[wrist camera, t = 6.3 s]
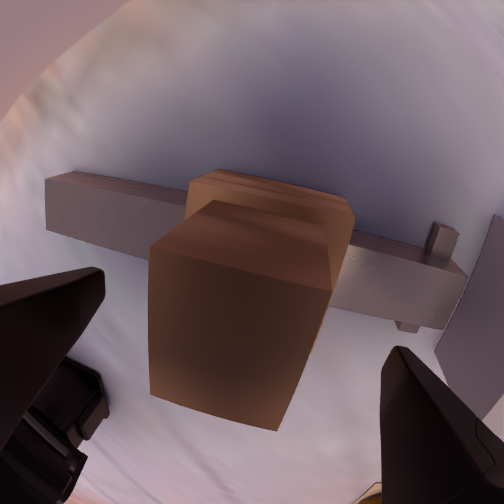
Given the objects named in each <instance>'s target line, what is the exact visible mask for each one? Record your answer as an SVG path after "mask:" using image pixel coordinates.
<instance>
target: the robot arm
mask: <svg viewBox="0 0 504 504" xmlns="http://www.w3.org/2000/svg"><path fill="white" fill-rule="evenodd" d="M105 293H106V291H105V274H104V271H103V270H101V269H99V268H96V267H87V268H82V269H77V270H72V271H67V272H62V273H57V274H52V275H48V276H43V277H38V278H33V279H28V280H23V281H19V282H14V283H9V284H4V285H0V504H63V503H64V502H65V501H66V500H67V499H68V498H69V496H70V495H71V493H72V491H73V489H74V487H75V485H76V482H77V480H78V478H79V476H80V473H81V471H82V469H83V467H84V465H85V462H86V460H87V458H88V456H87V455H86V454H84V453H82V452H80V451H79V450H78V449H77V448H78V447H79V445H80V444H81V442H82V441H83V439H84V440H86V441H87V440H89V439H90V438H91V436H92V435H93V433H94V432H95V430H96V429H97V427H98V426H99V424H100V423H101V422H102V420H103V419H104V418H105V419H107V418H108V416H109V412H108V408H107V404H106V400H105V395H104V391H103V386H102V381H101V377H100V376H99V374H97V373H96V372H94V371H92V370H90V369H88V368H86V367H84V366H82V365H80V364H78V363H76V362H74V361H72V360H70V359H68V358H66V357H65V356H66V354H67V353H68V352H69V350H70V349H71V348H72V346H73V345H74V344H75V343H76V341H77V340H78V339H79V337H80V336H81V335H82V333H83V332H84V330H85V329H86V327H87V325H88V324H89V322H90V321H91V319H92V317H93V316H94V314H95V313H96V311H97V309H98V308H99V306H100V305H101V303H102V302H103V300H104V298H105ZM380 434H381V468H382V491H381V504H504V442H503V441H502V440H501V439H500V438H499V437H497V436H496V435H495V434H494V433H493V432H492V431H491V430H490V429H489V428H488V427H487V426H486V425H485V424H484V423H483V422H482V421H481V420H480V419H479V417H476V415H475V413H474V412H473V411H472V410H471V409H470V408H469V407H468V406H467V405H466V404H465V403H464V402H463V401H462V400H461V399H460V398H459V397H458V396H457V395H456V394H455V393H454V392H453V391H452V390H451V389H450V388H449V387H448V386H447V385H446V384H445V383H444V382H443V381H442V380H441V379H440V378H439V377H438V376H437V375H435V374H434V373H433V372H432V371H431V370H430V369H429V368H428V367H427V366H426V365H425V364H424V363H423V362H422V361H421V360H420V359H419V358H418V357H417V356H416V355H415V354H414V353H413V352H412V351H411V350H410V349H409V348H407V347H403V346H394V347H393V349H392V350H391V352H390V354H389V356H388V358H387V359H386V361H385V363H384V365H383V367H382V371H381V395H380Z"/></svg>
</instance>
